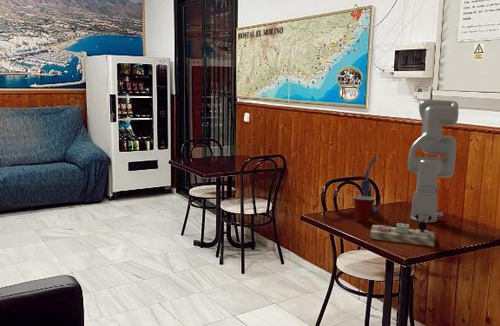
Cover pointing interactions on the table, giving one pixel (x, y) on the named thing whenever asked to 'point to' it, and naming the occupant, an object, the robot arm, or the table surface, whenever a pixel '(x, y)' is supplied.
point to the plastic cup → (363, 207)
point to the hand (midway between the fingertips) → (422, 230)
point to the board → (402, 236)
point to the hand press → (368, 184)
